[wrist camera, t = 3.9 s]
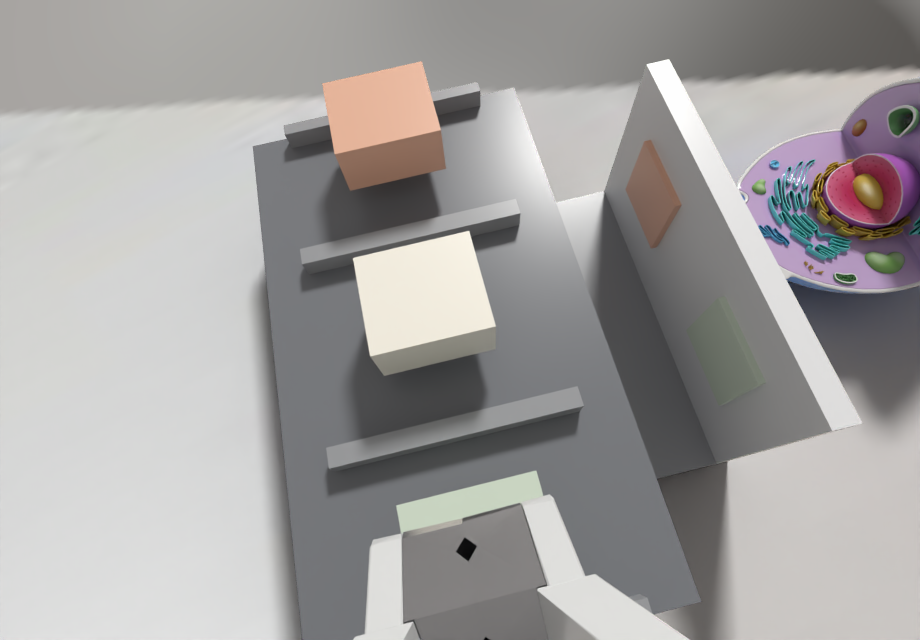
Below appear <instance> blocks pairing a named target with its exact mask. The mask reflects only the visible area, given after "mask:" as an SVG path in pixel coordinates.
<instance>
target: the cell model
mask: <svg viewBox="0 0 920 640" xmlns="http://www.w3.org/2000/svg"><path fill="white" fill-rule="evenodd" d="M736 186H737V188H738V190H739V192H740V194H741V196H742V197H743V199H744V201H745V203H746V205H747V207H748V209H749V211H750V212H751V214H752V216H753V218H754V220H755V222H756V224H757V226H758V228H759V229H760V231H761V233H762V235H763V237H764V239H765V241H766V243H767V244H768V246H769V248H770V250H771V252H772V254H773V256H774V258H775V259H776V261H777V263H778V265H779V267H780V269H781V271H782V273H783V274H784V276H785V278H786V280H787V281H789V282H792V283H795V284H798V285H801V286H805V287H808V288H812V289H817V290H822V291H827V292H835V293H845V294H874V293H886V292H895V291H901V290H905V289H908V288H912V287H916V286H919V285H920V78H913V79H907V80H902V81H899V82H895V83H892V84H890V85H887V86H885V87H882V88H880V89H878V90H876V91H875V92H873V93H872V94H870V95H869V96H868V97H866V98H865V99H864V100H863V101H862V102H861V103H860V104H859V105H858V106H857V107H856V108H855V109H854V110H853V111H852V113H851V114H850V115H849V117H848V118H847V120H846V121H845V123H844V125H843V126H842V128H841V129H836V130H827V131H820V132H814V133H808V134H805V135H801V136H797V137H794V138H791V139H789V140H786V141H784V142H781V143H779V144H778V145H776V146H774V147H772V148H770V149H769V150H767V151H766V152H765V153H763V154H762V155H761V156H759V157H758V158H757V159H756V160H755V161H754V162H753V163H752V164H751V165H750V166H749V167H748V168H747V169H746V171H745V172H744V173H743V175H742V176H741V177H740V179H739V181H738V183H737V185H736Z"/></svg>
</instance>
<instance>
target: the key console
mask: <svg viewBox="0 0 920 640" xmlns="http://www.w3.org/2000/svg"><path fill="white" fill-rule="evenodd" d="M431 96H432V100H433V103H434V107H435V111H436V114H437V118H438V121H439V125H440V128H441V134H442V142H443V149H444V157H445V165H446V169H443V170H439V171H434V172H430V173H425V174H421V175H417V176H412V177H408V178H404V179H399V180H395V181H391V182H386V183H382V184H378V185H373V186H369V187H365V188H360V189H356V190H351V191H350V189H349V187H348V184H347V182H346V180H345V177H344V175H343V173H342V170H341V168H340V166H339V163H338V161H337V159H336V156H335V153H334V148H333V142H332V136H331V131H330V125H329V119H328V116H324V117H320V118H315V119H311V120H306V121H302V122H298V123H293V124H289V125H284V131H285V136H286V138H287V139H284V140H280V141H275V142H271V143H266V144H262V145H257V146H253V152H254V162H255V172H256V182H257V192H258V202H259V212H260V222H261V232H262V242H263V252H264V262H265V272H266V282H267V292H268V302H269V312H270V322H271V332H272V342H273V352H274V362H275V372H276V382H277V392H278V402H279V412H280V422H281V432H282V442H283V452H284V462H285V472H286V482H287V492H288V502H289V512H290V522H291V532H292V542H293V552H294V562H295V572H296V581H297V591H298V601H299V611H300V621H301V631H302V640H353V639H354V637H356V636H360V635H363V634H365V618H366V602H367V585H368V569H369V552H370V546H371V544H372V541H373V540H374V539H379V538H383V537H387V536H392V535H396V534H401V530H400V524H399V519H398V513H397V507H396V505H400V504H404V503H408V502H412V501H416V500H420V499H424V498H428V497H432V496H436V495H440V494H444V493H448V492H452V491H456V490H460V489H464V488H468V487H472V486H476V485H480V484H484V483H488V482H492V481H496V480H500V479H504V478H508V477H512V476H516V475H520V474H524V473H528V472H532V471H537V475H538V478H539V482H540V485H541V489H542V493H543V496H545V495H549V494H550V495H551V496H552V497H553V498H554V500H555V503H556V505H557V508H558V510H559V513H560V515H561V517H562V520H563V522H564V525H565V527H566V530H567V532H568V535H569V537H570V540H571V542H572V544H573V547H574V549H575V552H576V554H577V557H578V559H579V562H580V564H581V566H582V569H583V571H584V574H585V576H588V575H593V574H596V575H597V576H599V577H600V578H602V579H603V580H605V581H606V582H607V583H609V584H610V585H612V586H613V587H615V588H616V589H618V590H619V591H620V592H622V593H623V594H625V595H626V596H628V597H629V598H631V599H632V600H633V601H635V602H636V603H638V604H639V605H641V606H642V607H643V608H645V609H646V610H648V611H649V612H651V613H652V614H657V613H661V612H665V611H668V610H672V609H676V608H680V607H684V606H688V605H691V604H695V603H699V602H701V599H700V596H699V593H698V591H697V588H696V585H695V582H694V580H693V577H692V574H691V571H690V569H689V566H688V563H687V560H686V558H685V555H684V552H683V550H682V547H681V544H680V541H679V539H678V536H677V533H676V530H675V528H674V525H673V522H672V519H671V517H670V514H669V511H668V508H667V506H666V503H665V500H664V497H663V495H662V492H661V489H660V486H659V484H658V481H657V479H659V478H663V477H666V476H670V475H674V474H678V473H682V472H686V471H690V470H694V469H698V468H702V467H706V466H710V465H714V464H718V463H722V462H726V461H730V460H733V459H737V458H740V457H744V456H748V455H751V454H755V453H758V452H762V451H766V450H769V449H773V448H776V447H780V446H783V445H787V444H791V443H794V442H798V441H801V440H805V439H809V438H812V437H816V436H819V435H823V434H826V433H830V432H834V431H837V430H841V429H844V428H848V427H852V426H855V425H859V424H862V421H861V419H860V417H859V415H858V414H857V412H856V410H855V408H854V406H853V404H852V402H851V400H850V398H849V397H848V395H847V393H846V391H845V389H844V387H843V385H842V383H841V382H840V380H839V378H838V376H837V374H836V372H835V370H834V368H833V367H832V365H831V363H830V361H829V359H828V357H827V355H826V353H825V352H824V350H823V348H822V346H821V344H820V342H819V340H818V338H817V336H816V335H815V333H814V331H813V329H812V327H811V325H810V323H809V321H808V320H807V318H806V316H805V314H804V312H803V310H802V308H801V306H800V305H799V303H798V301H797V299H796V297H795V295H794V293H793V291H792V290H791V288H790V286H789V284H788V282H787V280H786V278H785V276H784V274H783V273H782V271H781V269H780V267H779V265H778V263H777V261H776V259H775V258H774V256H773V254H772V252H771V250H770V248H769V246H768V244H767V243H766V241H765V239H764V237H763V235H762V233H761V231H760V229H759V228H758V226H757V224H756V222H755V220H754V218H753V216H752V214H751V212H750V211H749V209H748V207H747V205H746V203H745V201H744V199H743V197H742V196H741V194H740V192H739V190H738V188H737V186H736V184H735V182H734V181H733V179H732V177H731V175H730V173H729V171H728V169H727V167H726V166H725V164H724V162H723V160H722V158H721V156H720V154H719V152H718V150H717V149H716V147H715V145H714V143H713V141H712V139H711V137H710V135H709V134H708V132H707V130H706V128H705V126H704V124H703V122H702V120H701V119H700V117H699V115H698V113H697V111H696V109H695V107H694V105H693V104H692V102H691V100H690V98H689V96H688V94H687V92H686V90H685V88H684V87H683V85H682V83H681V81H680V79H679V77H678V75H677V73H676V72H675V70H674V68H673V66H672V64H671V62H670V60H664V61H660V62H655V63H651V64H647V65H646V68H645V71H644V74H643V77H642V80H641V83H640V86H639V89H638V92H637V95H636V98H635V101H634V104H633V107H632V110H631V113H630V116H629V119H628V122H627V125H626V128H625V131H624V134H623V137H622V140H621V143H620V146H619V149H618V152H617V155H616V158H615V161H614V164H613V167H612V170H611V173H610V176H609V179H608V182H607V185H606V188H605V191H603V192H598V193H594V194H590V195H585V196H581V197H577V198H573V199H568V200H564V201H560V202H556V201H555V198H554V195H553V193H552V190H551V187H550V184H549V182H548V179H547V176H546V173H545V171H544V168H543V165H542V162H541V160H540V157H539V154H538V152H537V149H536V146H535V143H534V141H533V138H532V135H531V132H530V130H529V127H528V124H527V121H526V119H525V116H524V113H523V110H522V108H521V105H520V102H519V99H518V97H517V94H516V91H515V88H510V89H506V90H501V91H497V92H492V93H488V94H483V95H480V89H479V86H478V83H477V82H476V83H471V84H467V85H462V86H458V87H453V88H449V89H444V90H440V91H435V92H431ZM466 231H469V232H470V236H471V239H472V243H473V246H474V250H475V253H476V257H477V261H478V264H479V268H480V271H481V275H482V278H483V282H484V286H485V289H486V293H487V296H488V300H489V303H490V307H491V311H492V314H493V318H494V321H495V325H496V349H494V350H489V351H485V352H481V353H477V354H473V355H469V356H465V357H460V358H456V359H452V360H448V361H444V362H440V363H436V364H432V365H427V366H423V367H419V368H415V369H411V370H407V371H403V372H398V373H394V374H390V375H386V376H384V375H383V374H382V372H381V371H380V370H379V368H378V367H377V365H376V364H375V363H374V361H373V360H372V358H371V357H370V353H369V347H368V342H367V336H366V330H365V325H364V319H363V313H362V307H361V302H360V296H359V290H358V285H357V279H356V273H355V267H354V262H353V258H355V257H359V256H363V255H368V254H372V253H376V252H380V251H385V250H389V249H393V248H398V247H402V246H406V245H410V244H415V243H419V242H423V241H427V240H432V239H436V238H440V237H445V236H449V235H453V234H457V233H462V232H466Z"/></svg>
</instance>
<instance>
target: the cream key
mask: <svg viewBox="0 0 920 640" xmlns="http://www.w3.org/2000/svg"><path fill="white" fill-rule="evenodd" d="M353 262H354V267H355V273H356V279H357V285H358V290H359V296H360V302H361V307H362V313H363V319H364V325H365V330H366V336H367V342H368V347H369V353H370V357H371V358H372V360H373V361H374V363H375V364H376V365H377V367H378V368H379V370H380V371H381V372H382V374H383V375H384V376H386V375H390V374H394V373H398V372H403V371H407V370H411V369H415V368H419V367H423V366H427V365H432V364H436V363H440V362H444V361H448V360H452V359H456V358H460V357H465V356H469V355H473V354H477V353H481V352H485V351H489V350H494V349H496V325H495V321H494V318H493V314H492V311H491V307H490V303H489V300H488V296H487V293H486V289H485V286H484V282H483V278H482V275H481V271H480V268H479V264H478V261H477V257H476V253H475V250H474V246H473V243H472V239H471V236H470V232H469V231H466V232H462V233H457V234H453V235H449V236H445V237H440V238H436V239H432V240H427V241H423V242H419V243H415V244H410V245H406V246H402V247H398V248H393V249H389V250H385V251H380V252H376V253H372V254H368V255H363V256H359V257H355V258H353Z"/></svg>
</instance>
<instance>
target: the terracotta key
mask: <svg viewBox="0 0 920 640" xmlns="http://www.w3.org/2000/svg"><path fill="white" fill-rule="evenodd" d="M323 90H324V96H325V102H326V108H327V113H328V119H329V125H330V131H331V136H332V142H333V148H334V153H335V156H336V159H337V161H338V163H339V166H340V168H341V170H342V173H343V175H344V177H345V180H346V182H347V184H348V187H349V189H350V191H351V190H356V189H360V188H365V187H369V186H373V185H378V184H382V183H386V182H391V181H395V180H399V179H404V178H408V177H412V176H417V175H421V174H425V173H430V172H434V171H439V170H443V169H446V165H445V157H444V149H443V142H442V134H441V128H440V125H439V121H438V118H437V114H436V111H435V107H434V103H433V100H432V96H431V93H430V89H429V86H428V82H427V79H426V75H425V72H424V68H423V64H422V62H417V63H413V64H408V65H403V66H399V67H395V68H390V69H385V70H381V71H377V72H372V73H368V74H363V75H358V76H354V77H349V78H345V79H340V80H336V81H332V82H327V83H323Z"/></svg>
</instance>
